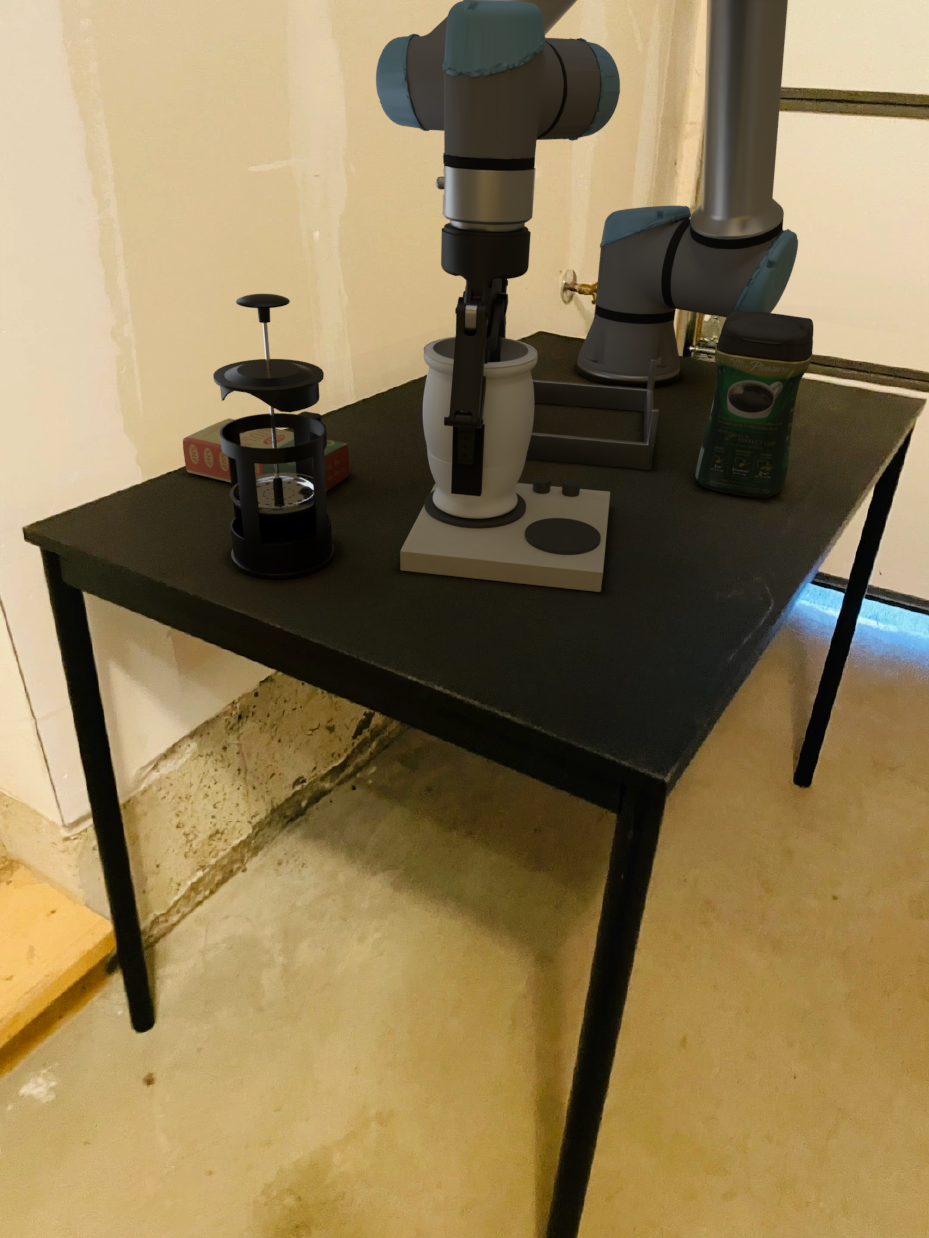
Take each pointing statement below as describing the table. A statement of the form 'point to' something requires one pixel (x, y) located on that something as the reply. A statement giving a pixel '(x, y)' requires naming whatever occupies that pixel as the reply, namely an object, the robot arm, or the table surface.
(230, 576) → the table surface
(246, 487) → the french press
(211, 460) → the carton
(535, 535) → the stove
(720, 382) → the coffee jar
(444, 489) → the jar
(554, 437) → the rack
